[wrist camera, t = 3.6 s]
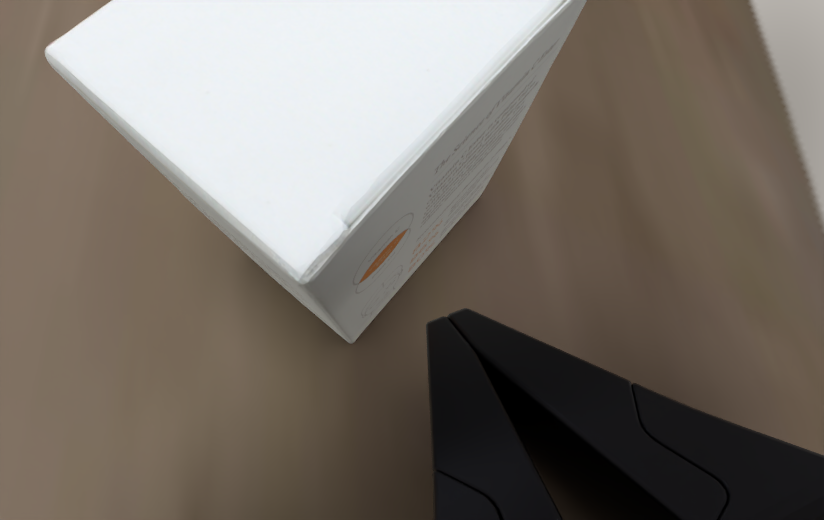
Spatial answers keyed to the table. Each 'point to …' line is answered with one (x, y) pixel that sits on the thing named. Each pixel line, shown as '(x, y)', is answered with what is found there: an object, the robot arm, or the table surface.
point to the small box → (321, 122)
